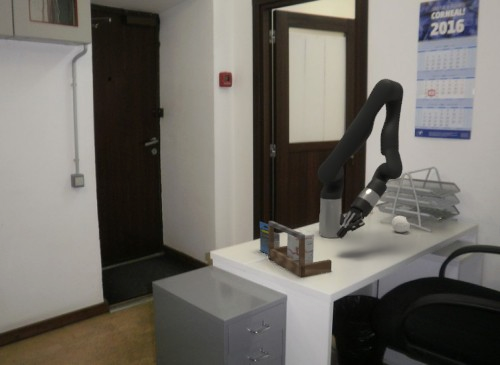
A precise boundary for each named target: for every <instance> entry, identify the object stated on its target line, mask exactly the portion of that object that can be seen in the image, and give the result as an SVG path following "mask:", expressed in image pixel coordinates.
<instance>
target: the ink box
mask: <svg viewBox="0 0 500 365" xmlns="http://www.w3.org/2000/svg"><path fill="white" fill-rule="evenodd" d="M298 232H299V233H302V234H304V235H305V264H307V263H312V262H314V247H315V244H314V242H315V241H314V239H315V238H314V237H315V235H314V233H312V232H310V231H308V230H303V231H298ZM286 246H287V256H288V257H290V258H292V259H293V260H295V261H297V262H299V239H298V238H296V237H294V236H292V235H289V234H287V245H286Z"/></svg>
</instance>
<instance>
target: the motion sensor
mask: <svg viewBox="0 0 500 365" xmlns="http://www.w3.org/2000/svg"><path fill="white" fill-rule="evenodd" d="M391 226H392V229H393V230H394V231H395V232H397V233H399V234H400V233H401V234H402V233H406V232H407V231H408V230H409V229H410V226H411V224H410V222H408V220H407V217H406V216H402V215H395V217H393V219H392V221H391Z"/></svg>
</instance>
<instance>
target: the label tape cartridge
mask: <svg viewBox="0 0 500 365" xmlns="http://www.w3.org/2000/svg"><path fill="white" fill-rule="evenodd" d="M280 238H281V235H280V234H279V233H277V232H275V231H274V248H276V247H281V246H280V244H281V242H280ZM259 244H260V245H259V248H260V252H262V253H265V254H267V255H269V230H268V223H265V222H263V221H259Z"/></svg>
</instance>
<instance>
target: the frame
mask: <svg viewBox="0 0 500 365" xmlns="http://www.w3.org/2000/svg"><path fill="white" fill-rule="evenodd" d="M267 224H268V227H267V228H268V230H269V254H268V260H270V261H272V262H274V263H275V264H277V265H279V266H280V267H282V268H284V269H285V270H287V271H289V272H291V273H292V274H294V275H296V276H297V277H300V278H306V277H311V276H315V275H321V273H322V274H325V273H326V272H327V273H331V272H332V263H333V262H332V260H331V259H324V260H318V261H313V262H312V263H307V264H305V235H304V234H302V233H299V232H300V231H297V230H295V229H292V228H290V227H288V226H285V225H283V224H280V223H278V222H276V221H273V220H268V223H267ZM275 229H276V230H279V231H280V232H283V233H285V234H287V235H288V234H289V235H292V236H294V237H296V238H298V239H299V262H297V261H295V260H293V259H292V258H290V257H288V256H287V245H284V246H280V247H276V248H274V232H275Z"/></svg>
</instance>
